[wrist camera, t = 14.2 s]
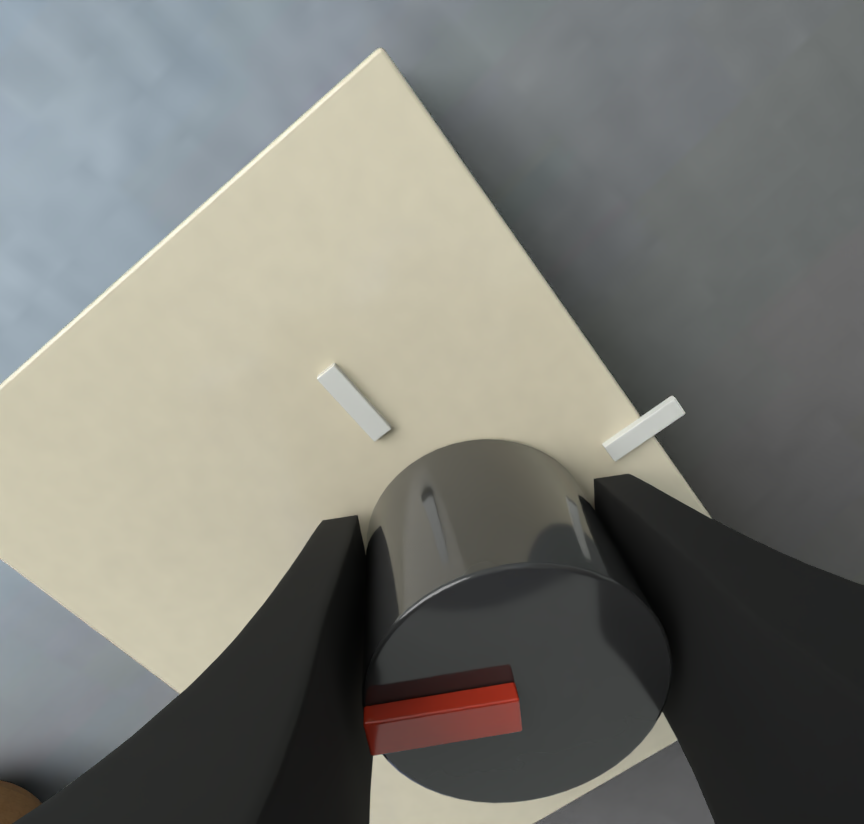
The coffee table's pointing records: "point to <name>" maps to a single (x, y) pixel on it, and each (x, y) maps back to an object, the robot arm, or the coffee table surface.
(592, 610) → the knob
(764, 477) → the coffee table surface
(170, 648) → the cream dial panel
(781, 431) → the coffee table surface
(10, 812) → the egg
